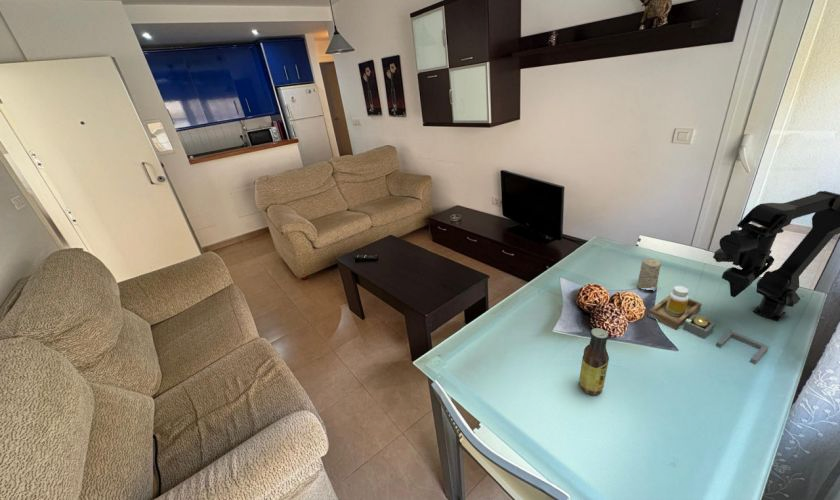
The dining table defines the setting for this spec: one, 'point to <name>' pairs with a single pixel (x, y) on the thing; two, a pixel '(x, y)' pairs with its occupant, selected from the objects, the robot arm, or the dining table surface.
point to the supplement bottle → (677, 301)
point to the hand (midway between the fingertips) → (739, 290)
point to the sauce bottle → (594, 363)
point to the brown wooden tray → (670, 319)
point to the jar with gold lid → (700, 321)
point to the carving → (649, 273)
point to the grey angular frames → (724, 337)
